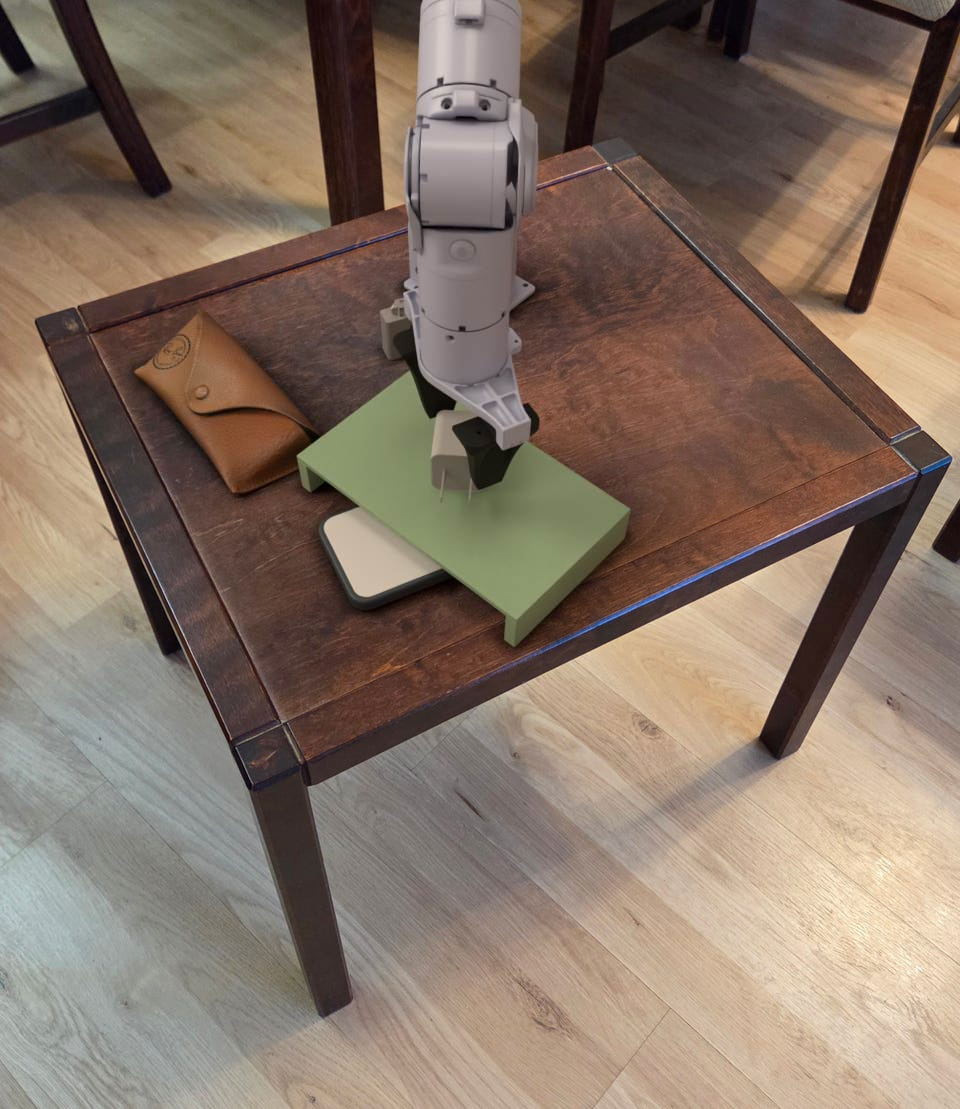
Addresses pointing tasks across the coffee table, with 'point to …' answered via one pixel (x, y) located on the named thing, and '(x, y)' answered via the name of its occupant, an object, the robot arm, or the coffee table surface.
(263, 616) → the coffee table surface
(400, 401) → the riser stand
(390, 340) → the lighter
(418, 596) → the coffee table surface
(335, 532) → the phone case
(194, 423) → the sunglasses case
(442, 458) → the usb wall charger
